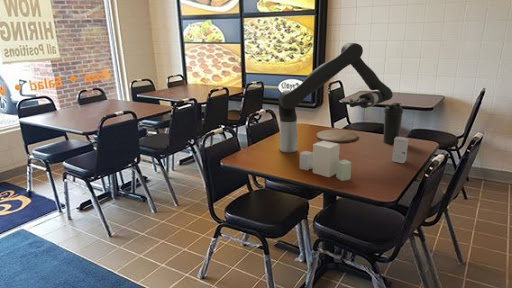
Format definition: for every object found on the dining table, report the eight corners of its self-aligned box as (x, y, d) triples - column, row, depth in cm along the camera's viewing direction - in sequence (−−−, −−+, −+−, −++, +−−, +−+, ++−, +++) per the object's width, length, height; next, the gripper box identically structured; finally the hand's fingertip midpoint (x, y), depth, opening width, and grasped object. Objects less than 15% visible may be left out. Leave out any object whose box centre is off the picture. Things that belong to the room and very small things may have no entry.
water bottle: (404, 143, 212) (407, 104, 206) (390, 145, 209) (393, 105, 202) (391, 139, 221) (395, 101, 215) (378, 141, 218) (380, 102, 211)
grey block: (299, 168, 179) (299, 153, 176) (305, 166, 182) (305, 150, 179) (307, 170, 176) (307, 154, 173) (312, 168, 179) (312, 152, 176)
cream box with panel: (328, 177, 167) (329, 148, 163) (312, 172, 173) (313, 144, 169) (338, 172, 172) (339, 143, 168) (322, 168, 178) (323, 140, 174)
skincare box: (391, 161, 184) (393, 138, 180) (393, 159, 188) (395, 136, 184) (404, 163, 181) (406, 140, 177) (406, 161, 184) (408, 137, 181)
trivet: (365, 136, 228) (365, 134, 228) (342, 146, 212) (342, 143, 211) (331, 130, 246) (331, 127, 245) (308, 138, 229) (308, 135, 229)
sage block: (336, 177, 167) (336, 160, 164) (344, 175, 168) (345, 159, 166) (341, 180, 163) (342, 164, 160) (350, 179, 164) (351, 162, 162)
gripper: (357, 91, 198) (340, 96, 186) (380, 94, 189) (363, 98, 177) (356, 105, 200) (339, 110, 188) (379, 108, 191) (363, 114, 179)
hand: (351, 105), depth 183 cm, fingers closed
